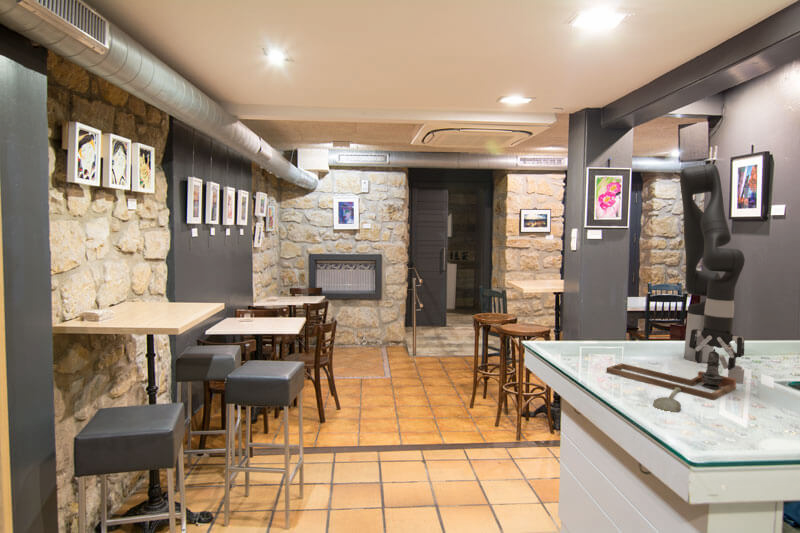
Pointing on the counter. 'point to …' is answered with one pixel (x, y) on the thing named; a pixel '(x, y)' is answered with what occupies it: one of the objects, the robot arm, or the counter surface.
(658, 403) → the soupspoon
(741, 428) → the counter surface
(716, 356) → the salt shaker
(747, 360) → the counter surface
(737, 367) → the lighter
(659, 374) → the track
